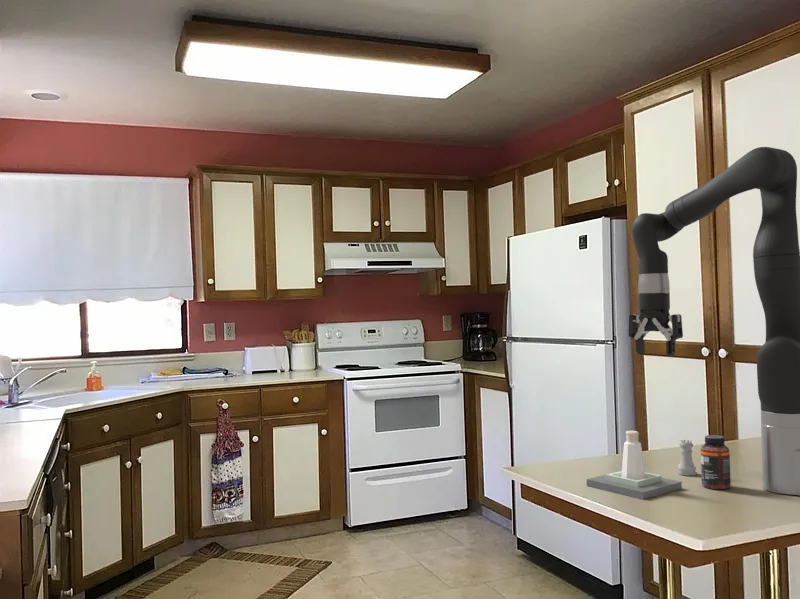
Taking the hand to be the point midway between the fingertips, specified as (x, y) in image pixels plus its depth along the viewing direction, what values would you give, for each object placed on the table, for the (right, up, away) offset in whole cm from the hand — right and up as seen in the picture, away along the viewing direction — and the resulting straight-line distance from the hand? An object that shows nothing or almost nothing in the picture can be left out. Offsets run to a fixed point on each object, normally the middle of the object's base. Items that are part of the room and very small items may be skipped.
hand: (655, 355), depth 181 cm
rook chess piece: (+4, -28, -10) cm, 30 cm away
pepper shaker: (-13, -27, -21) cm, 36 cm away
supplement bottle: (+5, -28, -23) cm, 36 cm away
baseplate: (-13, -28, -21) cm, 38 cm away
